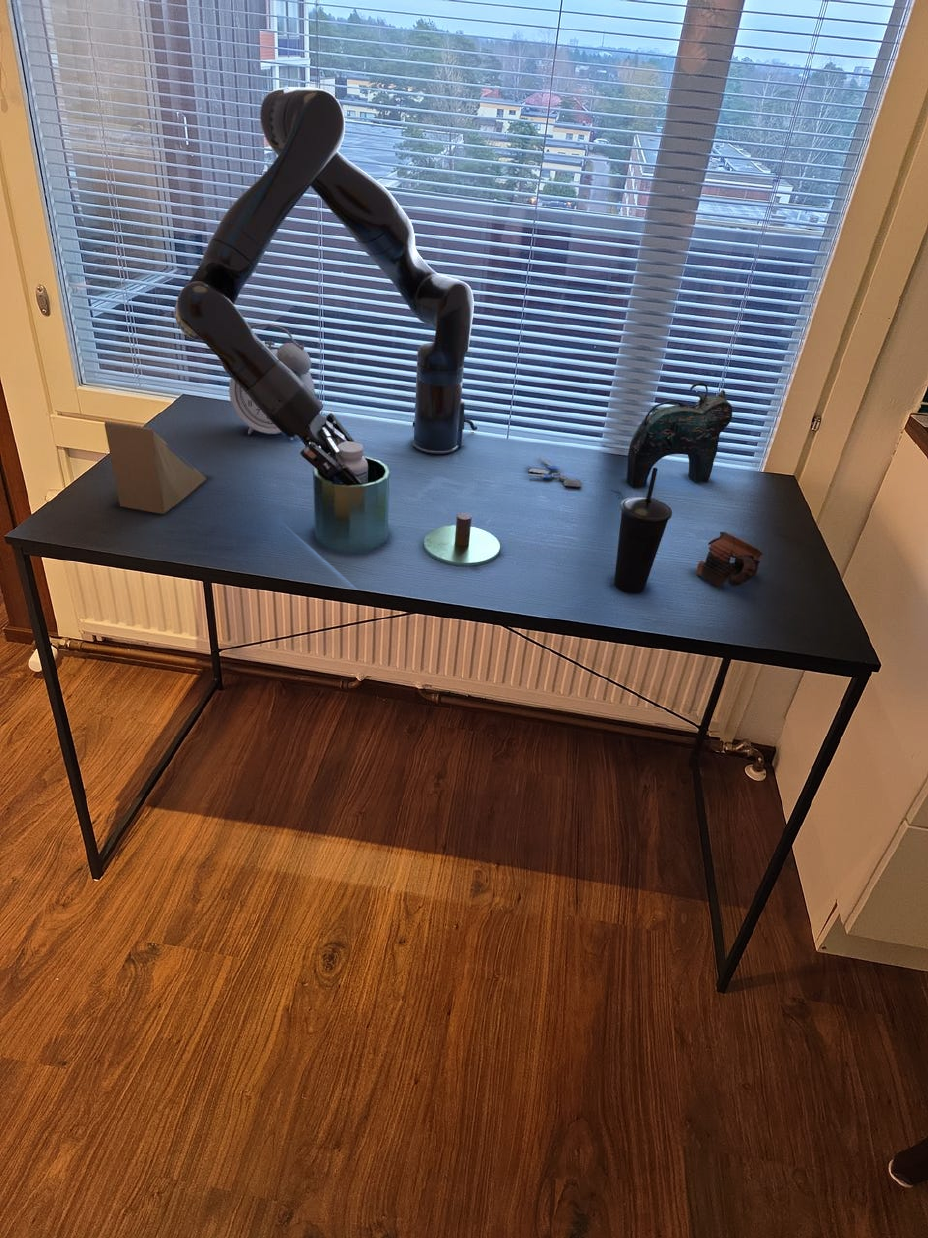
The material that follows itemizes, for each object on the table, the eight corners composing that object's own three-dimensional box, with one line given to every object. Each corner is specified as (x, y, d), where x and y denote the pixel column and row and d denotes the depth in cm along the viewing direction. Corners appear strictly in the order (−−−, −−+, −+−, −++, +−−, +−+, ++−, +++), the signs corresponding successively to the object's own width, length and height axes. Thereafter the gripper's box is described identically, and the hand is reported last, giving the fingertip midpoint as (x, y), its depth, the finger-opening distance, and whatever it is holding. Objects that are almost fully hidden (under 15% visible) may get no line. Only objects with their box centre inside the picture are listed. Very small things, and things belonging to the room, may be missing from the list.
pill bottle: (336, 493, 135) (336, 437, 130) (369, 496, 135) (370, 440, 130) (331, 508, 131) (330, 451, 125) (364, 511, 131) (365, 454, 125)
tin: (363, 514, 143) (363, 449, 136) (400, 543, 136) (403, 476, 129) (302, 530, 137) (300, 463, 130) (338, 561, 129) (337, 492, 123)
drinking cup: (658, 581, 132) (686, 465, 121) (646, 603, 126) (675, 484, 115) (612, 568, 134) (636, 453, 123) (599, 589, 128) (622, 471, 117)
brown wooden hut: (681, 566, 137) (707, 522, 136) (723, 588, 141) (749, 546, 139) (718, 588, 126) (746, 540, 125) (763, 611, 130) (791, 565, 128)
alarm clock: (228, 434, 167) (218, 324, 155) (244, 420, 175) (236, 313, 162) (306, 445, 166) (302, 335, 154) (319, 430, 173) (317, 323, 161)
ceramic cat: (703, 471, 170) (728, 376, 159) (721, 485, 165) (747, 387, 154) (618, 478, 164) (638, 379, 153) (633, 492, 159) (655, 391, 148)
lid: (468, 525, 143) (471, 492, 140) (514, 556, 135) (519, 523, 132) (408, 542, 136) (409, 508, 133) (453, 576, 128) (456, 542, 125)
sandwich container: (208, 478, 150) (200, 398, 142) (165, 514, 138) (152, 429, 129) (165, 470, 152) (154, 391, 143) (118, 505, 139) (103, 421, 131)
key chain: (587, 486, 160) (588, 482, 159) (554, 494, 155) (555, 490, 155) (542, 459, 169) (542, 456, 168) (510, 466, 165) (511, 463, 164)
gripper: (289, 399, 117) (370, 486, 123) (312, 369, 128) (386, 449, 135) (254, 431, 120) (336, 514, 126) (280, 398, 132) (354, 475, 138)
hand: (361, 480), depth 130 cm, fingers closed on pill bottle, 5 cm apart
